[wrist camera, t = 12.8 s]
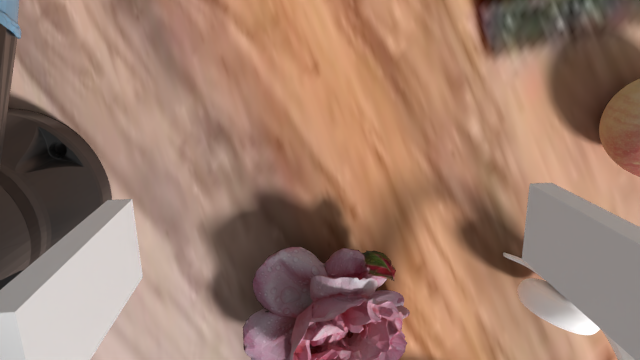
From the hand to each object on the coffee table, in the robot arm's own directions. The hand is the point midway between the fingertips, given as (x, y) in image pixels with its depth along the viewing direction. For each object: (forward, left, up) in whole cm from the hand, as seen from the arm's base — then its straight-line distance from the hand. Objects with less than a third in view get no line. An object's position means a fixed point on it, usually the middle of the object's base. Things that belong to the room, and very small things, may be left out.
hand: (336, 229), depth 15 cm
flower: (+2, -17, -26) cm, 32 cm away
